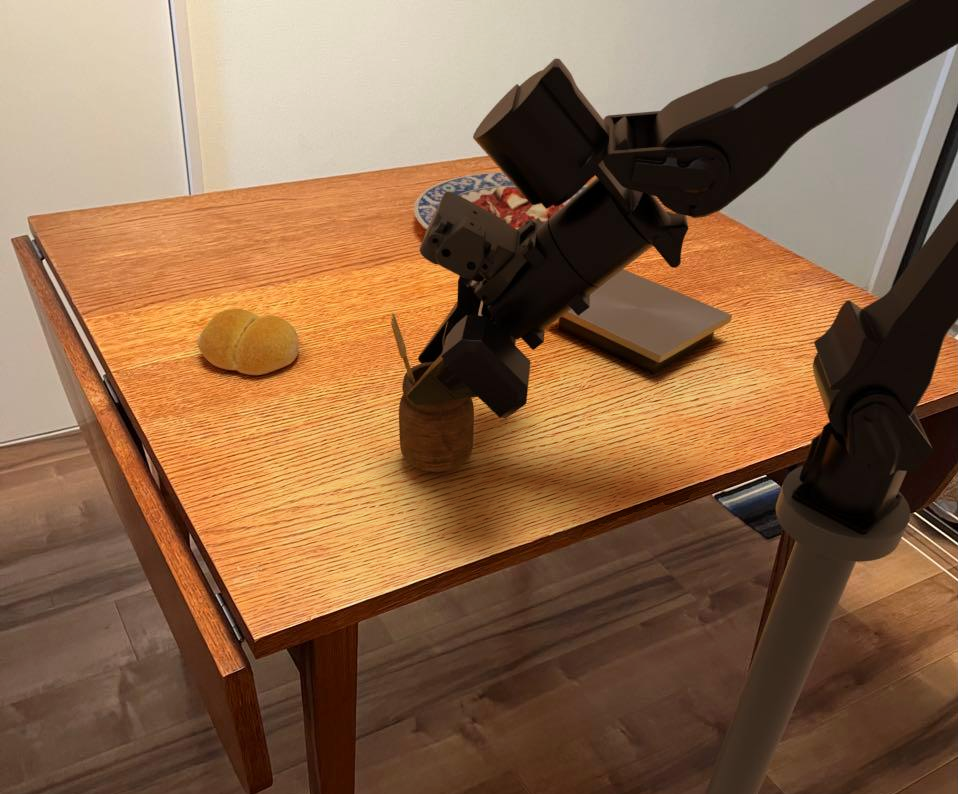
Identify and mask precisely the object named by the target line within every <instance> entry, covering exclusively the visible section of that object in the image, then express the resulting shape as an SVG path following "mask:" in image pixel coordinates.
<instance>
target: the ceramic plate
mask: <svg viewBox="0 0 958 794" xmlns="http://www.w3.org/2000/svg"><path fill="white" fill-rule="evenodd" d="M588 185H589V184H585V185H584V186H583V187H582V188H581V189H580V190H579V191H578V192H577V193H576V194H575V195H574V196H573V197H571V198H570V199H569V200H567V201H566V202H564V203H563V204H561V205H559V206H553V205H552V206H551V207H549V208H547V209H546V208H545V207H544V206H543V205H542V204H541V203H540V204H537V205H531V204H530V202H529V201H528V200H527V199H526V198H525V197H524V196H523V194H522V193H521V192H520V191H519V190H518V189H517V188H516V186H515V185H514V184H513V183H512V182H511V181H510V180H509V179H508V177H507V176H506V175H505V174H504V173H503V172H502V171H499V172H496V171H495V172H484V173H483V172H482V173H474V174H468V175H467V174H466V175H463V176H458V177H454V178H449V179H447V180H444V181H440V182H439V183H436V184H434V185H432V186H430V187H429V188H426V190H424V191H423V192H421V194H420V195H419V196H418V197H417V199H416V200H415V202H414V204H413V205H414V206H413V211H414V216H415V218H416V220H417V222H418V223H419V224H420V226H421V227H422V228H423V229H424V230H425V231H426V230H427V228H428V226H429V224H430V222H431V220H432V218H433V216H434V214H435V212H436V209H437V207H438V205H439V203H440V201H441V199H442V197H443V195H444V193H445V192H452V193H455V194H457V195H459V196H461V197H463V198H465V199H467V200H469V201H470V202H472V203H474V204H476V205H478V206H480V207H482V208H483V209H485V210H487V211H489V212H491V213H493V214H494V215H496V216H498V217H499V218H501V219H502V220H503V221H504V222H506V223H507V224H509V225H511V226H512V227H514V228H515V229H518V228H520V227H521V226H522V225H524V224H525V223H526V222H527V221H528V220H530V219H532V220H533V221H535V220H536V219H537V218H539V219H540V220H541V221H542V222H543V223H544V222H546V221H547V220H548V219H549V218H550V217H552V216H553V215H554V214H555V213H556V212H557V211H559V210H560V209H561V208H562V207H563V206H564V205H566V204H567V203H568V202H569V201H570V200H572V199H573V198H574V197H575V196H576V195H577V194H579V193H580V192H581V191H582V190H583V189H584V188H586V187H587V186H588Z"/></svg>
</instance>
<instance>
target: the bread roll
mask: <svg viewBox="0 0 958 794" xmlns="http://www.w3.org/2000/svg"><path fill="white" fill-rule="evenodd" d="M299 341H300V340H299V335H298V333H297V331H296V329H295V328H294V326H293V325H292V323H290V322H289V321H287V320H286V319H284V318H283V317H281V316H278V315H263V316H259V315H258V314H256V313H254V312H253V311H250V310H246V309H243V308H238V307H235V308H230V309H224V310H222V311H220V312H219V313H217V314H216V315H214V316H213V317H212V318H211V320H209V322H208V323H207V324H206V326H204V328H203V329H202V330H201V332H200V334H199V336H198V339H197V347H198V349H199V351H200V353H201V355H202V356H203V357H204V359H206V361H208V362H209V363H210V364H211V365H212V366H215V367H216V368H219V369H223V370H229V371H237V372H238V373H241V374H243V375H249V376H261V375H267V374H270V373H272V372H275V371H278V370H280V369H283V368H285V367H287V366H289V365H290V364H292V363H293V362H294V361H295V360H296V358H297V356H298V355H299V349H300V348H299V347H300V346H299Z"/></svg>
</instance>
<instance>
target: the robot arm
mask: <svg viewBox="0 0 958 794" xmlns="http://www.w3.org/2000/svg"><path fill="white" fill-rule="evenodd" d="M957 45H958V0H872V1H870V2H869V3H868V4H866V5H864V6H862V7H861V8H860V9H858V10H856V11H855V12H853V13H852V14H850V15H848V16H847V17H845V18H844V19H842V20H841V21H839V22H837V23H835V24H834V25H833V26H831V27H829V28H828V29H826V30H825V31H823V32H821V33H820V34H818V35H817V36H815V37H813V38H812V39H811V40H809V41H807V42H806V43H804V44H802V45H801V46H799V47H798V48H795V49H794V50H793V51H791V52H789V53H788V54H787V55H785V56H783V57H782V58H780V59H777V60H776V61H774V62H772V63H769V64H767V65H764V66H762V67H760V68H757V69H753V70H750V71H747V72H743V73H742V72H741V73H739V74H734V75H729V76H726V77H724V78H720V79H718V80H716V81H714V82H711V83H709V84H707V85H704V86H702V87H699V88H698V89H694V90H693V91H690V92H688V93H686V94H683V95H681V96H679V97H677V98H675V99H673V100H671V101H670V102H669V103H667V105H665V106H664V107H662V109H660V110H657V111H656V110H653V111H644V112H643V111H641V112H631V113H619V114H608V115H605V116H604V118H603V117H602V116H601V114H600V113H599V112H598V111H597V110H596V108H595V107H594V105H592V103H591V102H590V101H589V100H588V98H587V97H586V96H585V94H584V93H583V92H582V91H581V89H580V87H578V85H577V84H576V81H575V79H574V77H573V75H572V73H571V71H570V70H569V69H568V68H567V66H566V64H564V62H563V61H562V60H561V59H560V58H553V60H552V61H550V63H548V64H547V65H546V66H545V67H544V68H543V69H542V70H539V71H537V72H536V73H534V74H532V75H531V76H530V77H528V78H527V79H526V80H524V82H522V83H521V84H520V85H519V83H517V84H515V85H514V86H512V88H510V90H508V91H507V92H506V94H505V95H503V97H502V98H501V99H500V100H499V101H497V103H496V104H495V105H494V106H493V107H492V108H491V109H490V111H489V112H488V113H487V114H486V115H485V117H483V119H482V121H481V122H480V123H479V125H478V126H477V128H476V129H475V131H474V132H473V135H472V139H473V140H474V141H475V142H476V144H477V145H478V146H479V147H480V148H481V149H482V150H483V151H484V153H485V154H486V155H487V156H488V157H489V158H490V159H491V160H492V162H493V163H494V164H495V165H496V166H497V168H498V169H499V170H500V172H503V173H504V174H505V175H506V176H507V177H508V179H509V180H510V181H511V182H512V183H513V184H514V185H515V186H516V188H517V189H518V190H519V191H520V192H521V193H522V194H523V196H524V197H525V198H526V199H527V200H528V201H529V202H530V204H531V205H537V204H540V203H541V204H542V205H543V206H544V207H545V208H546V209H547V208H549V207H551V206H552V205H553V206H559V205H561V204H563V203H564V202H566V201H567V200H569V199H570V198H571V197H573V196H574V195H575V194H576V193H577V192H578V191H579V190H580V189H581V188H582V187H583V186H584V185H588V186H587V187H586V188H584V189H583V190H582V191H581V192H580V193H579V194H577V195H576V196H575V197H574V198H573V199H572V200H570V201H569V202H568V203H567V204H566V205H564V206H563V207H562V208H561V209H560V210H559V211H557V212H556V213H555V214H554V215H553V216H552V217H550V218H549V219H548V220H547V221H546V222H544V223H543V222H542V221H541V220H540V219H539V218H537V219H536V220H535V221H533V220H532V219H530V220H528V221H527V222H526V223H525V224H524V225H522V226H521V227H520V228H518V229H515V228H514V227H512V226H511V225H509V224H507V223H506V222H504V221H503V220H502V219H501V218H499V217H498V216H496V215H494V214H493V213H491V212H489V211H487V210H485V209H483V208H482V207H480V206H478V205H476V204H474V203H472V202H470V201H469V200H467V199H465V198H463V197H461V196H459V195H457V194H455V193H452V192H445V193H444V195H443V197H442V199H441V201H440V203H439V205H438V207H437V209H436V212H435V214H434V216H433V218H432V220H431V222H430V224H429V226H428V228H427V230H426V229H425V232H424V235H423V239H422V241H421V245H420V246H419V253H420V255H421V256H422V257H423V258H424V259H425V260H426V261H428V262H429V263H432V264H434V265H436V266H437V265H439V267H442V268H444V269H446V270H448V271H450V272H451V273H452V274H455V275H457V276H458V279H457V299H456V300H457V301H456V302H455V303H454V305H453V307H452V308H451V309H450V311H449V312H448V314H447V315H446V317H445V318H444V319H443V321H442V322H441V324H440V325H439V326H438V328H437V329H436V330H435V332H434V334H433V335H432V336H431V337H430V339H429V340H428V342H427V343H426V344H425V346H424V348H423V349H422V351H420V353H419V355H418V357H417V360H418V362H419V364H422V363H426V362H434V363H433V364H432V365H431V366H430V367H429V369H428V370H427V371H426V372H425V373H424V374H423V375H422V377H421V378H420V379H419V380H418V381H417V382H416V384H415V385H414V386H413V387H412V388H411V390H410V391H409V392H408V394H407V398H408V399H409V400H410V401H411V402H412V403H413V404H414V405H417V406H418V405H424V404H430V403H437V402H443V401H449V400H455V399H462V398H478V399H479V400H480V401H481V402H482V403H483V404H485V405H486V406H487V408H489V409H490V410H491V412H492V413H494V414H495V415H496V416H497V417H498V418H499V419H508V418H509V417H510V416H512V415H513V414H514V413H516V412H517V411H519V410H520V409H521V408H523V407H524V406H525V405H527V403H528V402H527V401H528V393H529V383H530V374H531V360H530V359H529V358H528V357H527V356H526V355H525V354H524V353H523V351H521V350H520V349H519V347H518V346H517V345H516V344H517V341H519V340H520V339H521V340H522V341H523V342H524V343H525V344H526V345H527V346H528V347H529V348H530V350H532V351H535V350H536V349H537V348H539V347H540V346H541V345H542V344H544V342H545V335H546V334H545V333H546V329H548V328H549V327H551V325H552V324H554V323H555V322H557V321H559V318H560V317H562V316H563V315H564V314H565V313H567V312H568V311H569V310H571V309H572V310H573V311H574V312H575V313H576V314H577V315H578V316H579V315H580V314H581V313H583V312H584V311H585V310H587V309H588V308H589V307H590V294H591V293H593V292H594V291H595V290H597V289H598V288H599V287H600V286H602V285H603V284H604V283H606V282H607V281H608V280H609V279H611V278H612V277H613V276H615V275H616V274H617V273H619V272H620V271H621V270H622V269H624V270H625V268H627V267H628V266H629V265H630V264H631V263H633V262H634V261H635V260H637V259H638V258H640V257H641V256H642V255H643V254H645V253H647V251H648V250H650V249H651V248H652V247H654V249H655V250H656V251H657V252H658V254H659V255H660V256H661V257H662V258H663V260H664V261H665V262H666V263H667V265H668V266H669V267H670V268H673V269H675V268H678V267H679V266H680V265H681V263H682V250H683V243H684V241H685V237H686V235H687V233H688V231H689V223H688V218H687V217H690V218H693V219H699V218H706V217H708V216H710V215H713V214H715V213H716V214H717V213H719V212H720V211H722V210H723V209H724V208H726V207H727V206H729V205H730V204H731V203H732V202H734V201H735V200H737V198H739V197H740V196H741V195H742V194H744V193H745V192H746V191H748V190H749V189H750V188H751V187H752V186H754V185H755V184H756V183H758V182H759V181H760V180H762V178H764V177H765V176H766V175H767V174H769V172H770V171H771V170H772V169H773V168H774V166H775V165H776V164H777V163H778V162H779V161H780V160H781V158H782V157H784V155H785V154H787V152H788V151H789V150H790V149H791V148H792V146H793V145H794V144H796V143H797V142H798V141H799V140H800V139H802V138H803V137H805V135H807V134H808V133H809V132H811V131H812V130H813V129H815V128H817V127H819V126H821V125H822V124H824V123H826V122H827V121H829V120H830V119H832V118H834V117H836V116H837V115H839V114H841V113H843V112H844V111H846V110H848V109H849V108H851V107H853V106H854V105H856V104H858V103H860V102H862V101H863V100H865V99H866V98H868V97H870V96H872V95H873V94H875V93H877V92H879V91H880V90H882V89H884V88H885V87H887V86H889V85H890V84H892V83H895V81H897V80H899V79H900V78H902V77H904V76H906V75H907V74H909V73H911V72H912V71H914V70H916V69H918V68H919V67H921V66H922V65H924V64H926V63H928V62H929V61H931V60H933V59H935V58H937V57H938V56H940V55H942V54H943V53H945V52H947V51H948V50H950V49H952V48H953V47H955V46H957ZM594 177H595V179H594V180H593V181H592V182H590V181H591V180H592V179H593V178H594ZM588 182H590V183H589V184H588ZM657 199H658V200H659V201H658V200H657ZM660 202H661V203H660ZM661 204H662V205H663V206H662V205H661ZM664 207H665V208H667V209H668V210H670V211H672V212H670V211H668V210H665V209H664ZM957 322H958V198H957V199H956V200H955V202H954V203H953V204H952V206H951V207H950V209H949V210H948V211H947V213H946V214H945V215H944V217H943V218H942V219H941V221H940V222H939V223H938V225H937V226H936V228H935V229H934V230H933V232H932V233H931V234H930V235H929V237H927V240H926V241H925V243H923V245H922V247H921V248H920V249H919V251H918V252H917V253H916V255H915V256H914V257H913V259H912V260H911V261H910V263H909V264H908V266H907V267H906V269H905V270H904V271H903V272H902V274H901V275H900V277H899V278H898V279H897V280H896V282H895V283H894V285H893V286H892V287H891V288H890V289H889V291H888V292H887V293H885V295H883V296H882V297H880V298H878V299H877V300H875V301H873V302H871V303H869V304H868V305H866V306H864V307H863V308H862V307H860V306H858V305H857V304H856V303H854V302H853V301H851V300H846V301H845V302H844V303H843V304H842V305H841V307H840V309H839V311H838V313H837V314H836V316H835V318H834V321H833V322H832V324H831V325H830V327H829V328H828V329H827V330H826V331H825V332H824V333H823V334H822V335H820V337H818V338H817V339H816V340H814V342H813V344H814V347H815V349H816V354H815V356H814V358H813V361H812V372H813V373H812V374H813V377H814V380H815V383H816V386H817V389H818V393H819V395H820V398H821V401H822V404H823V407H824V410H825V413H826V416H827V418H828V422H827V423H826V424H825V425H823V427H822V430H821V432H820V433H818V434H817V435H816V436H815V437H813V438H812V439H811V442H810V444H809V447H808V450H807V453H806V456H805V459H804V462H803V465H802V466H803V468H802V471H801V474H800V477H799V478H800V481H801V482H803V483H802V484H801V485H800V486H799V487H798V488H796V489H795V490H794V491H793V493H792V498H793V499H794V500H796V501H798V502H799V503H801V504H803V505H805V506H807V507H809V508H811V509H813V510H815V511H817V512H819V513H821V514H822V515H824V516H826V517H828V518H830V519H832V520H834V521H836V522H838V523H840V524H842V525H844V526H846V527H847V528H849V529H851V530H853V531H855V532H857V533H859V534H863V535H864V534H867V533H869V532H870V531H871V530H872V529H873V528H874V527H875V526H876V525H877V524H878V523H879V522H880V521H881V520H882V519H883V518H884V517H885V516H886V515H887V514H888V513H890V512H891V511H892V510H893V509H894V508H895V507H896V506H897V505H898V504H899V503H900V501H901V499H902V497H901V495H900V494H898V491H899V492H900V489H901V486H902V484H903V481H904V480H905V477H906V475H907V472H916V471H917V470H918V469H919V468H920V467H921V466H922V465H923V464H924V462H926V460H927V459H928V458H929V457H930V456H931V455H932V454H933V452H934V449H933V447H932V444H931V442H930V440H929V438H928V436H927V434H926V432H925V429H924V427H923V426H922V424H921V422H920V419H919V417H918V415H917V412H916V411H915V410H916V409H917V407H918V405H919V404H920V402H921V400H922V399H923V397H924V395H925V394H926V392H927V390H928V388H929V387H930V385H931V383H932V379H933V377H934V374H935V370H936V366H937V364H938V361H939V357H940V353H941V352H942V351H941V350H942V348H943V343H944V341H945V338H946V336H947V335H948V333H949V331H950V330H952V328H953V327H954V325H955V324H956V323H957Z"/></svg>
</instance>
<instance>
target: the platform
mask: <svg viewBox="0 0 958 794" xmlns="http://www.w3.org/2000/svg"><path fill="white" fill-rule="evenodd" d="M732 317H733V315H732V314H731V313H729V312H726V311H725V310H723V309H719V308H717V307H715V306H712V305H710V304H707V303H705V302H702V301H700V300H697V299H695V298H693V297H691V296H688V295H686V294H683V293H681V292H679V291H676V290H674V289H672V288H669V287H668V286H667V287H666V286H665V285H662V284H660V283H657V282H655V281H652V280H651V279H648V278H645V277H643V276H640V275H638V274H636V273H633V272H631V271H629V270H627V269H625V268H624V269H622V270H621V271H620V272H619V273H617V274H616V275H615V276H613V277H612V278H611V279H609V280H608V281H607V282H606V283H604V284H603V285H602V286H600V287H599V288H598V289H597V290H595V291H594V292H593V293H591V294H590V307H589V308H588V309H587V310H585V311H584V312H583V313H581V314H580V315H579V316H578V315H577V314H576V313H575V312H574V311H573V310H572V309H571V310H569V311H568V312H567V313H565V314H564V315H563V316H562V317H560V318H559V319H558V326H557V330H558V331H560V332H562V333H564V334H566V335H569V336H571V337H573V338H575V339H577V340H579V341H580V342H583V343H585V344H586V345H589V346H591V347H593V348H595V349H597V350H599V351H601V352H604V353H606V354H608V355H610V356H612V357H614V358H616V359H618V360H620V361H622V362H624V363H627V364H628V365H630V366H632V367H634V368H636V369H638V370H641V371H643V372H645V373H647V374H649V375H651V376H655V375H657V374H659V373H660V372H662V371H664V370H665V369H667V368H669V367H670V366H673V365H674V364H677V362H679V361H681V360H683V359H684V358H686V357H688V356H690V355H691V354H693V353H694V352H696V351H698V350H701V348H703V347H705V346H707V345H708V344H710V343H711V342H713V338H714V334H715V332H716V331H718V330H719V329H721V328H723V327H725V326H727V325H728V324H730V323H731V321H732Z"/></svg>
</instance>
